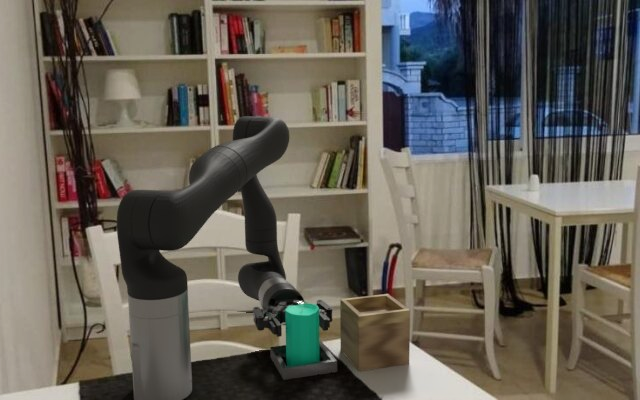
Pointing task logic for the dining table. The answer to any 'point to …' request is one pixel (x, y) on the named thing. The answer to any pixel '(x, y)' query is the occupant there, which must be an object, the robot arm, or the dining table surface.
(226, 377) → the dining table surface
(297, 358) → the candle
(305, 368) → the grey square tray
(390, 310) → the wooden storage box
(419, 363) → the dining table surface
